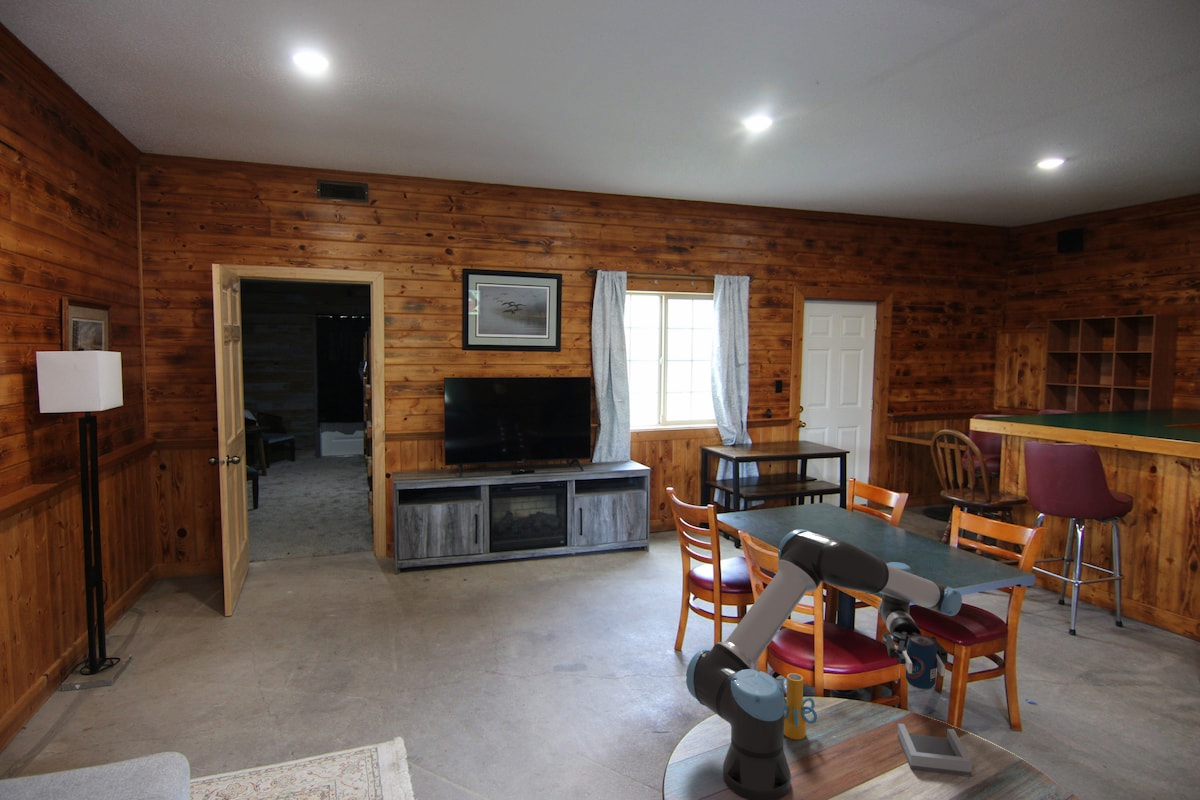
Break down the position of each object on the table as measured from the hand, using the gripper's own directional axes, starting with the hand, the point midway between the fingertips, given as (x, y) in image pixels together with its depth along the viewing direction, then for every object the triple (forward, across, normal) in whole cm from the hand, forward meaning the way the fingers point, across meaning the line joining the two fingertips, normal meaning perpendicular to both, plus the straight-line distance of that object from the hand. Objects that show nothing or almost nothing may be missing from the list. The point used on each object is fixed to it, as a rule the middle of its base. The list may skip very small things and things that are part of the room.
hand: (926, 669), depth 164 cm
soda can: (-5, 0, -7) cm, 8 cm away
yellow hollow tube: (+4, +32, -18) cm, 37 cm away
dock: (+7, 0, -18) cm, 19 cm away
